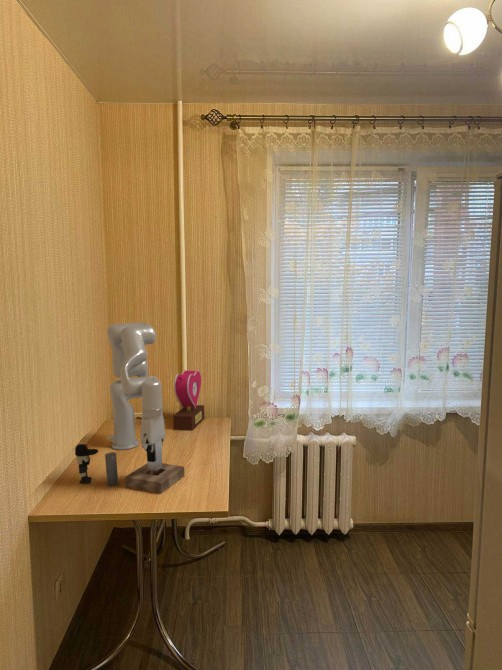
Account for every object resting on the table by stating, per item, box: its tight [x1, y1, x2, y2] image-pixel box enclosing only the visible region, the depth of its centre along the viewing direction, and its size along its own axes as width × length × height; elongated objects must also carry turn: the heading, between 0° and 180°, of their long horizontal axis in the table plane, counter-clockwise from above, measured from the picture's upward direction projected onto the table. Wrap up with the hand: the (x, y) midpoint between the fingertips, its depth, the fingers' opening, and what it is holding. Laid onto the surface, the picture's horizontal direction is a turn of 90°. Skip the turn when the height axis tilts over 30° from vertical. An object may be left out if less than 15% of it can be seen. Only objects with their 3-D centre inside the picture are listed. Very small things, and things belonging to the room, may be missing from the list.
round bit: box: [104, 451, 119, 487], centre depth 178 cm, size 4×4×12 cm
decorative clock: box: [172, 369, 206, 432], centre depth 250 cm, size 25×10×30 cm, turn 168°
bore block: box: [124, 462, 185, 495], centre depth 181 cm, size 16×16×4 cm
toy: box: [74, 443, 99, 484], centre depth 181 cm, size 8×8×15 cm
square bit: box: [146, 440, 163, 471], centre depth 180 cm, size 4×4×12 cm
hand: (154, 458), depth 180 cm, fingers closed on square bit, 4 cm apart
